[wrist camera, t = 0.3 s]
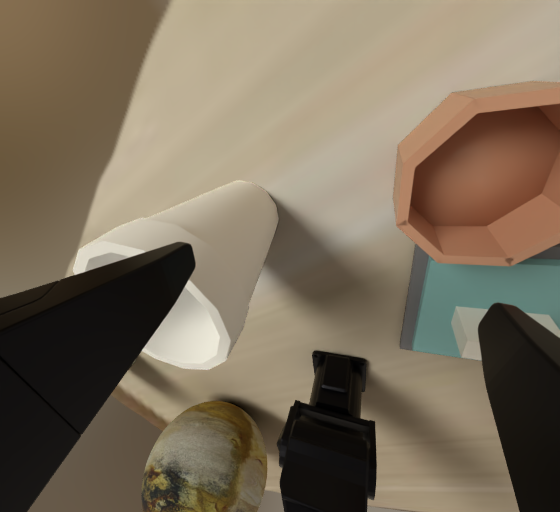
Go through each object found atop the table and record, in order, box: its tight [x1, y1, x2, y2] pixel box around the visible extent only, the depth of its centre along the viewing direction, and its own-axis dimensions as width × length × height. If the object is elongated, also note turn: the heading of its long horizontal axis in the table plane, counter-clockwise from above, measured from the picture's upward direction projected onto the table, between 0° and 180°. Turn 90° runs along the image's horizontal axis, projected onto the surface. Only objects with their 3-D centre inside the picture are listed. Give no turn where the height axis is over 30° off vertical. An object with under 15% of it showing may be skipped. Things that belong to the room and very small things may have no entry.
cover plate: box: [412, 256, 560, 361], centre depth 20 cm, size 11×11×4 cm
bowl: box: [393, 81, 560, 266], centre depth 15 cm, size 9×9×4 cm
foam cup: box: [73, 180, 279, 370], centre depth 19 cm, size 10×9×13 cm
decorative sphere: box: [142, 401, 267, 512], centre depth 43 cm, size 20×20×20 cm
